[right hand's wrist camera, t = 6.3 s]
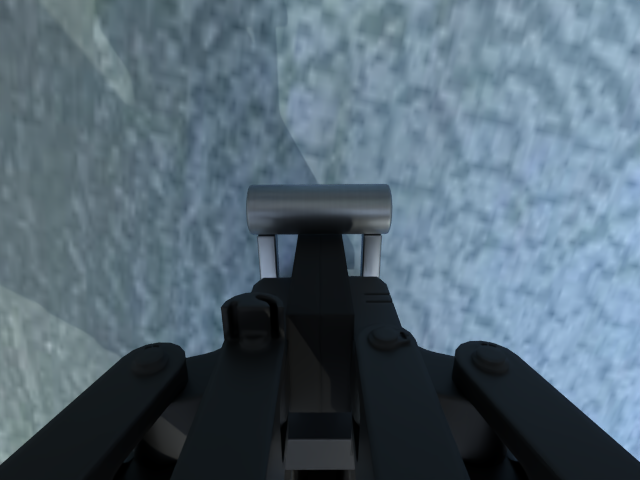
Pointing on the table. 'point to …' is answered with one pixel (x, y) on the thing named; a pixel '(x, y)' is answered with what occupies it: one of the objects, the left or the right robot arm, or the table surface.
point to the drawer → (267, 221)
